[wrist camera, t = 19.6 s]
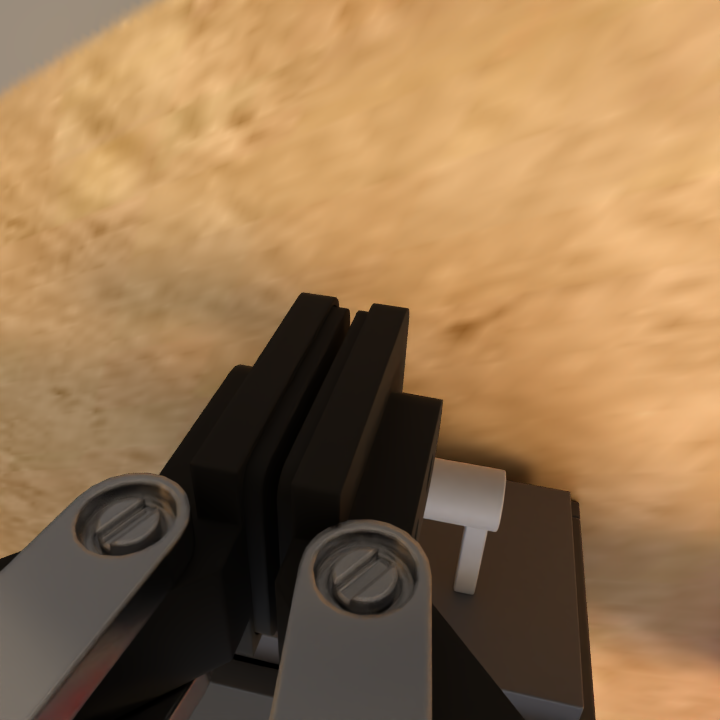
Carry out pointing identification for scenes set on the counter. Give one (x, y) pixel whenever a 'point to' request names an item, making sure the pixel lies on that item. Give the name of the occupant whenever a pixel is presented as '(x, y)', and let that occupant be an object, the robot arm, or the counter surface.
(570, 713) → the drawer
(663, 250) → the counter surface
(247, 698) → the cabinet
